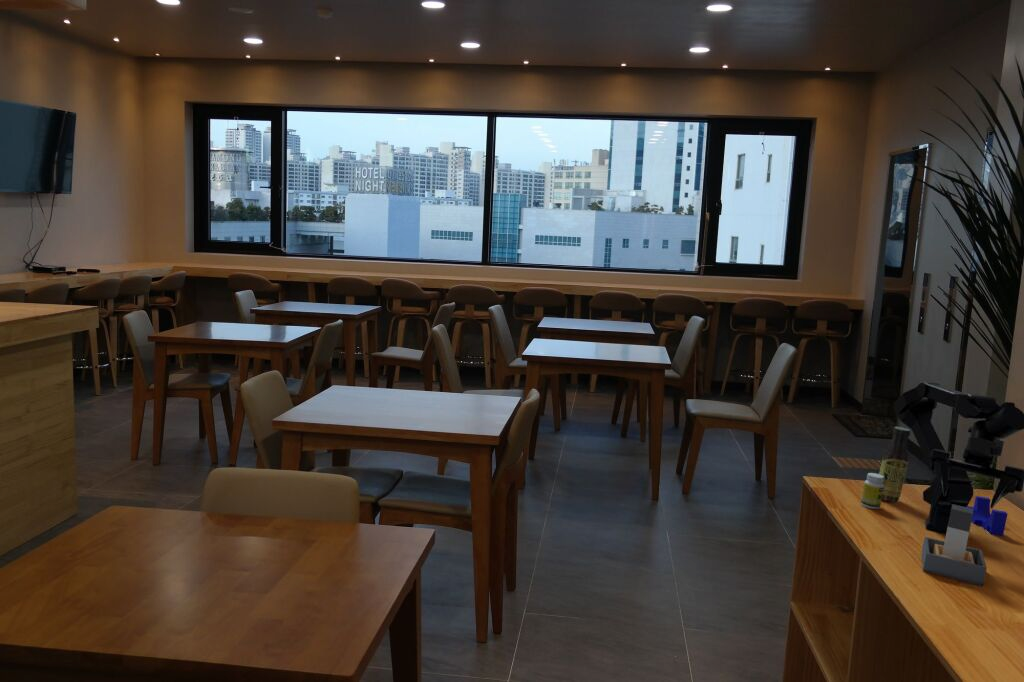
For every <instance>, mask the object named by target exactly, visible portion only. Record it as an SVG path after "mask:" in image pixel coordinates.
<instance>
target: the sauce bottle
mask: <svg viewBox="0 0 1024 682" xmlns="http://www.w3.org/2000/svg"><path fill="white" fill-rule="evenodd" d="M892 432H893V434H892V439H891V443H890V444H889V445H888V446H887V448H885V450H884V453H883V456H882V457H883V458H882V460H881V464H880V468H879V472H878V474H880V475H882V476H884V482H883V484H884V490H883V495H882V500H881V501H884V502H889V503H898V502H899V500H900V497H901V494H902V490H903V486H904V481H905V477H906V474H907V469H908V464H909V455H910V452H909V449H908V441H909V437H910V435H911V429H910V428H906V427H901V426H894V428H893V430H892Z"/></svg>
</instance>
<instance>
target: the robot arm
mask: <svg viewBox="0 0 1024 682" xmlns="http://www.w3.org/2000/svg"><path fill="white" fill-rule="evenodd" d="M938 403H940V404H942V405H945V406H948V407H951V408H952V409H954V412H955V413H956V414H957V415H959V416H961V417H962V418H964V419H969V420H970V419H971V420H972V419H973V420H977V421H975V422H974V423H972V426H970V427H969V428H968V429H967V432H968V433H969V434H970V435H969V436H968V439H967V442H966V445H965V447H964V451H963V454H962V458H963V460H960V459H955V458H951V457H952V452H950V451H946V450H945V447H944V446H943V443H942V441H941V439H940V437H939V435H938V434H937V430H935V428H934V425H933V423H932V420H933V419H932V418H933V415H934V410H936V408H937V407H938ZM893 409H894V412H895V415H896V416H897V417H898V419H899V421H900V422H901V423H902V424H904V425H905V426H907V427H908V429H910V431H912V433H913V435H914V437H915V440H916V442H917V444H918V446H919V449H920V450H921V452H922V454H923V457H924V459H925V460H926V463H927V465H928V470H930V471H931V478H930V483H929V484H930V486H929V487H927V488H926V489H924V490H923V491H922V500H923V501H924V502H926V503H927V504H928V505H930V507H929V512H928V517H927V519H924V524H925V525H924V526H925V529H927V530H931V531H935V532H939V533H944V534H946V533H947V528H948V523H949V518H950V513H951V508H952V504H954V505H958V506H962V507H967V506H969V504H970V502H971V500H972V499H973V497H974V492H975V491H974V487H973V484H972V483H973V480H972V479H970V477H969V474H968V473H971V474H974V475H978V476H979V475H980V476H982V477H987V478H990V479H996V480H999V481H998V483H997V484H998V485H997V487H996V489H995V491H994V495H993V496H992V499H991V501H990V509H993V508H994V507H995V506H996V505H997V504H998V503H999V502H1000V501H1001V500H1002V499H1003V498H1004V497H1005V496H1007V495H1008V494H1009V493H1010V494H1014V493H1015V492H1017V493H1021V492H1023V488H1024V468H1022V467H1018V466H1017V467H1016V466H1012V465H1008V464H1005V466H1004V470H1001V469H997V468H992V467H993V464H994V460H995V456H997V457H1001V456H1002V454H1003V450H1004V443H1005V441H1003V440H1005V439H1008V438H1009V437H1011V436H1013V435H1015V434H1017V433H1019V432H1020V431H1022V430H1024V412H1023V411H1022V410H1021V409H1019V408H1018V407H1016V404H1015V402H1011V401H1005V402H1003V403H1002V404H999V403H998V402H997V400H996V398H995V397H994V396H993V395H982V394H972V393H965V392H962V391H959V390H957V389H953V388H950V387H947V386H944V385H942V384H940V383H938V382H927V381H926V382H925V381H923V382H919V384H917V385H916V386H915V387H914V388H913V387H912V388H911V389H909V390H907V391H904V392H903V393H902V394H901V395H900V396H898V398H897V399H896V400H895V401H894V404H893ZM1000 439H1001V440H1000Z"/></svg>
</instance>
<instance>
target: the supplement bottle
mask: <svg viewBox="0 0 1024 682" xmlns="http://www.w3.org/2000/svg"><path fill="white" fill-rule="evenodd" d="M883 482H884V476H882V475H880V474H879V473H875V472H868V473H867V475H866V480H865V481H864V483H863V489H862V495H861V499H860V505H861V506H863V507H865V508H868V509H871V510H872V509H873V510H879V509H880V508H881V504H882V501H883V500H882V495H883V490H884V484H883Z"/></svg>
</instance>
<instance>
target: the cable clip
mask: <svg viewBox="0 0 1024 682" xmlns="http://www.w3.org/2000/svg"><path fill="white" fill-rule="evenodd" d="M990 506H991V499H990V497H985V496H979V495H975V498H974V503H973V506H969V505H968V506H967V508H971V509H973V516H972V521H971V524H973V525H974V524H977V525H976V526H980V525H981V526H980V527H981V528H983V530H984V531H986V530H987V531H988V532H989V533H990V534H989V533H988V532H987V531H986V532H987V533H988V534H989V535H992V534H994V536H999V535H1000V537H1004V532H1005V528H1006V523H1007V520H1008V519H1007V518H1008V512H1007V511H1004V510H999V509H998V510H997V509H991V508H990Z"/></svg>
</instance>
